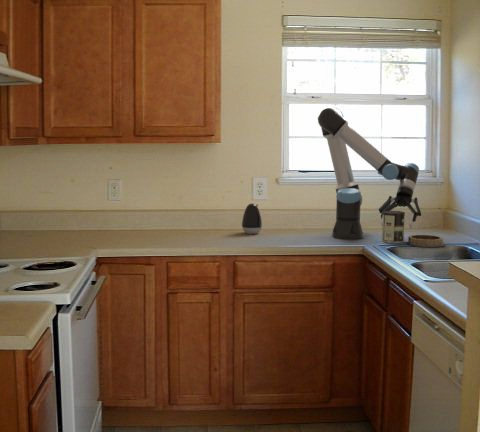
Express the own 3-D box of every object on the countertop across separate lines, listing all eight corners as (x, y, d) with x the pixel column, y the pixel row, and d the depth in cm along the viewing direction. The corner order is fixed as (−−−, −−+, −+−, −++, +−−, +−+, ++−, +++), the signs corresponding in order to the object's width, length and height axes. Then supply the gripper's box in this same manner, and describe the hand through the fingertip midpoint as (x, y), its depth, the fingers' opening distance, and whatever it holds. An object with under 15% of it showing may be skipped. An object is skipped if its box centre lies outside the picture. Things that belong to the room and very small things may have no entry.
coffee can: (403, 240, 322) (404, 210, 320) (404, 243, 312) (405, 213, 310) (381, 239, 324) (382, 210, 322) (381, 242, 314) (382, 213, 312)
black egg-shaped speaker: (265, 232, 340) (266, 203, 338) (255, 235, 331) (255, 205, 329) (248, 231, 346) (249, 201, 344) (237, 233, 337) (238, 203, 335)
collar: (402, 245, 307) (402, 238, 307) (412, 240, 322) (412, 233, 322) (439, 249, 299) (439, 241, 299) (448, 243, 314) (448, 236, 313)
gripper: (432, 196, 325) (423, 231, 314) (382, 194, 337) (372, 227, 326) (430, 186, 319) (421, 222, 309) (379, 184, 331) (369, 218, 320)
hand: (396, 225), depth 317 cm, fingers open, 13 cm apart
